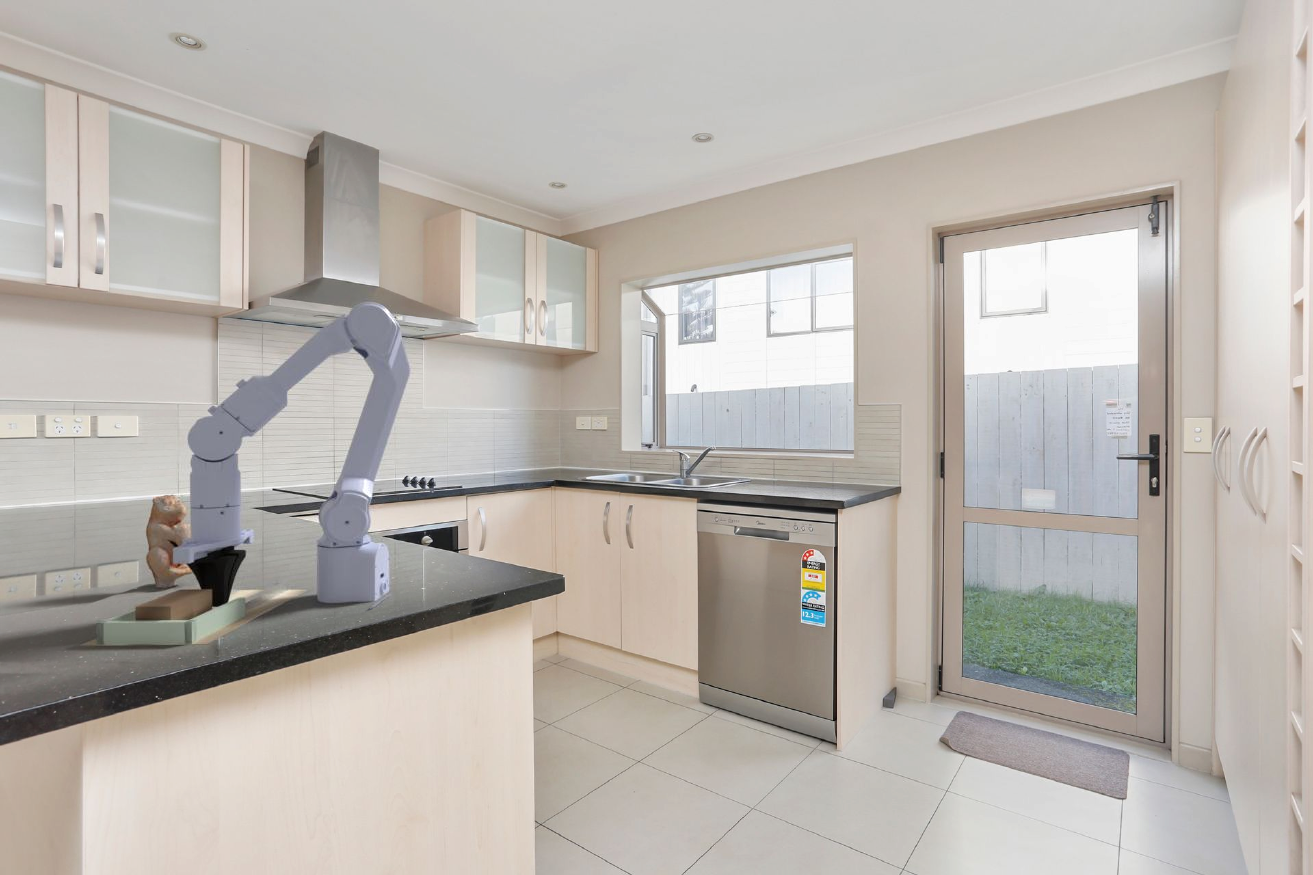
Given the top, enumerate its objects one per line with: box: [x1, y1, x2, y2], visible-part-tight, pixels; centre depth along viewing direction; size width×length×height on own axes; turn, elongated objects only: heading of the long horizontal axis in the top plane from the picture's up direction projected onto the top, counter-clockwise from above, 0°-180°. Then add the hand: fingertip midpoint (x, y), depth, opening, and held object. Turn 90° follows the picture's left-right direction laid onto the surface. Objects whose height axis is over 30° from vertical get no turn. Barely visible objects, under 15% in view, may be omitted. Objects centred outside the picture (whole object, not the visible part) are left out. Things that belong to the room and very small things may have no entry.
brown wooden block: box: [158, 588, 212, 618], centre depth 83 cm, size 4×4×4 cm
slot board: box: [79, 589, 309, 647], centre depth 88 cm, size 14×25×1 cm, turn 3°
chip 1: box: [134, 597, 193, 621], centre depth 79 cm, size 4×4×4 cm
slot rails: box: [230, 581, 291, 612], centre depth 94 cm, size 8×13×1 cm, turn 3°
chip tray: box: [95, 597, 245, 646], centre depth 82 cm, size 11×11×2 cm
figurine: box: [145, 494, 194, 589], centre depth 104 cm, size 6×8×15 cm
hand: (217, 605), depth 90 cm, fingers closed
